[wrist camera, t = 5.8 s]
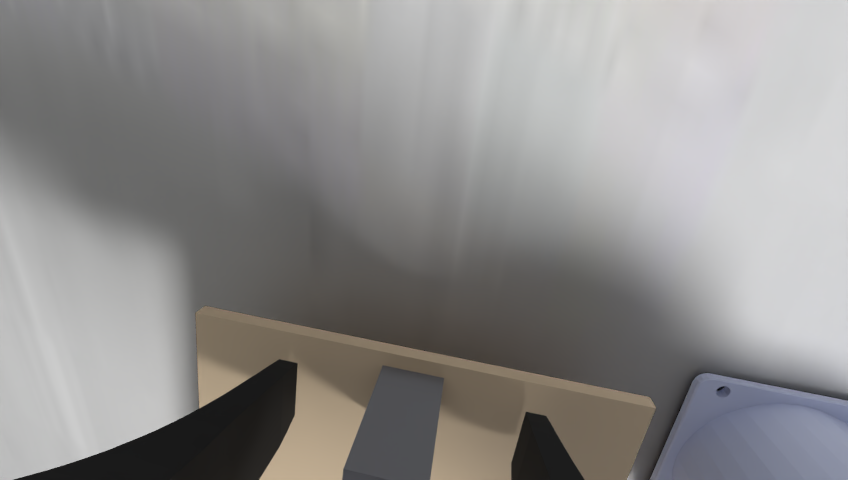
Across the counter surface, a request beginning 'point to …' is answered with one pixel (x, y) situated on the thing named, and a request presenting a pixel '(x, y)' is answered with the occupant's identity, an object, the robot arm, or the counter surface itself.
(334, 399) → the sliding lid
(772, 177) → the counter surface
